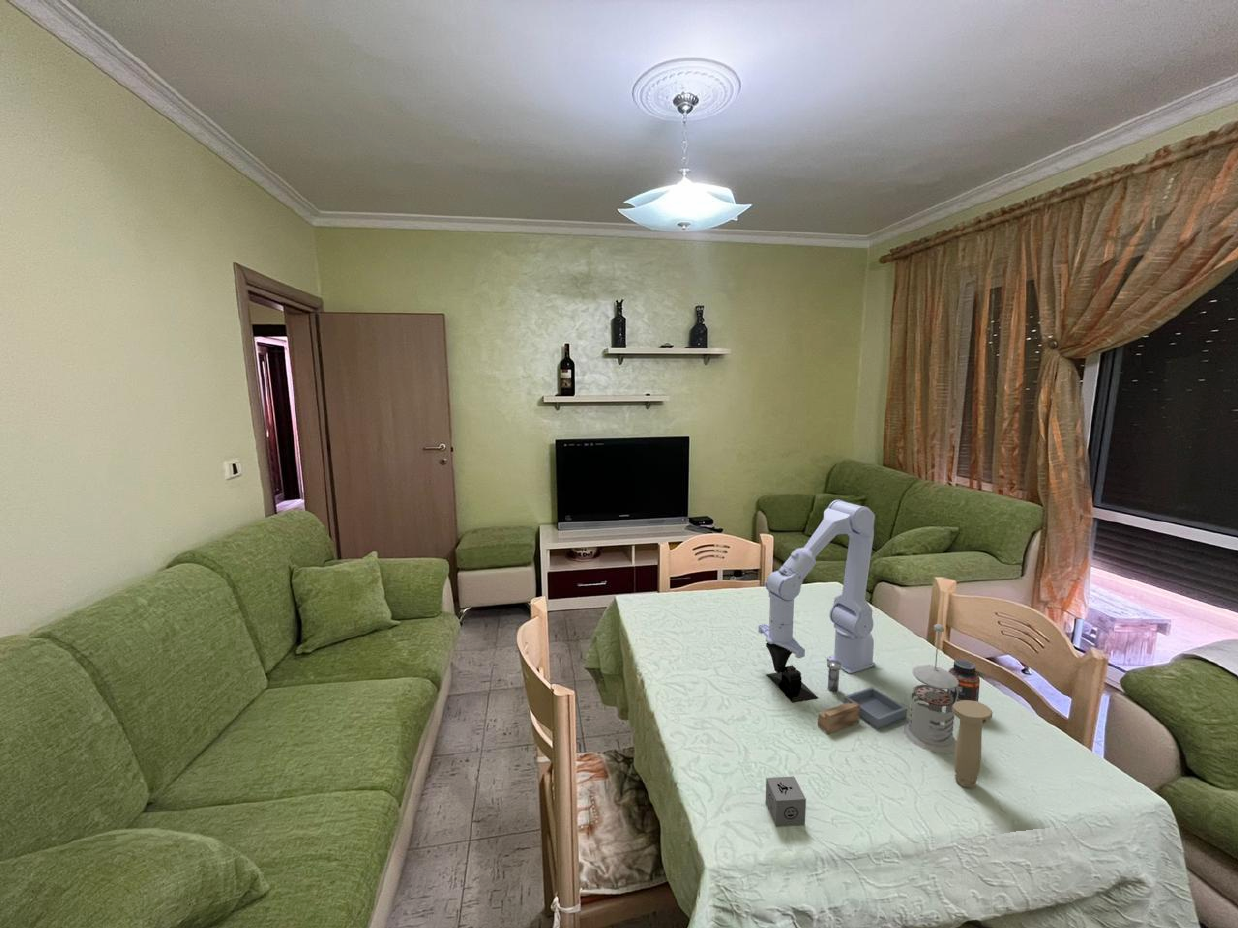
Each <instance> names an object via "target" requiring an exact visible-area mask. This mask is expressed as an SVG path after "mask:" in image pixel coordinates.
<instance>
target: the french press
mask: <svg viewBox="0 0 1238 928" xmlns="http://www.w3.org/2000/svg"><path fill="white" fill-rule="evenodd" d="M933 631H935V632H937V640H936V650H935V651H936V652H935V664H934V665H931V664H926V665H918V666H915V667H913V668H912V675H913V676H914V677H915V679H916V680H918V681H919V682H920V683H921V684H917V685H915V686H914V687H913V691H912V693H911V696H910V697H911V698H910V712H909V721H908V723H906V724H904V726H903V734H904V735H905V737H906V738H907V739H908V740H909V741H910V742H911V743H913V744H914V745H916V746H917V747H920V748H921V749H922V750H926V751H929V752H931V753H937V754H950V753H951V754H952V753H955V748H956V742H957V739H955V737H954V735H953V734H954V726H955V725H954V724H955V722H954V720H955V715H954V714H953V712H952V705H953V704H954V703H953V702H954V698H953V697H952V695H951V694H950V691H951V689H954V688H955V687H956V686H957V697H956V700H955V702H957V699H958V691H959V689H958V680H957V678H956V677H955V676H954V675H952V674H951V673H949V672H948V671H949V670H948V671H947V670H946V669H945V668H943V667H939V666H937V663H938V662H937V661H938V652H939V641H940V640H939V638H940V633H944V632H945V627H944V626H943V625H942V624H941V623H937V624H934V625H933ZM948 689H949V693H948V692H947V690H948ZM914 697H916V698H914ZM918 701H921V702H925V703H927V704H925V703H921V702H918ZM943 707H945V712H942V711H943ZM942 723H944V724H942Z"/></svg>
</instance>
